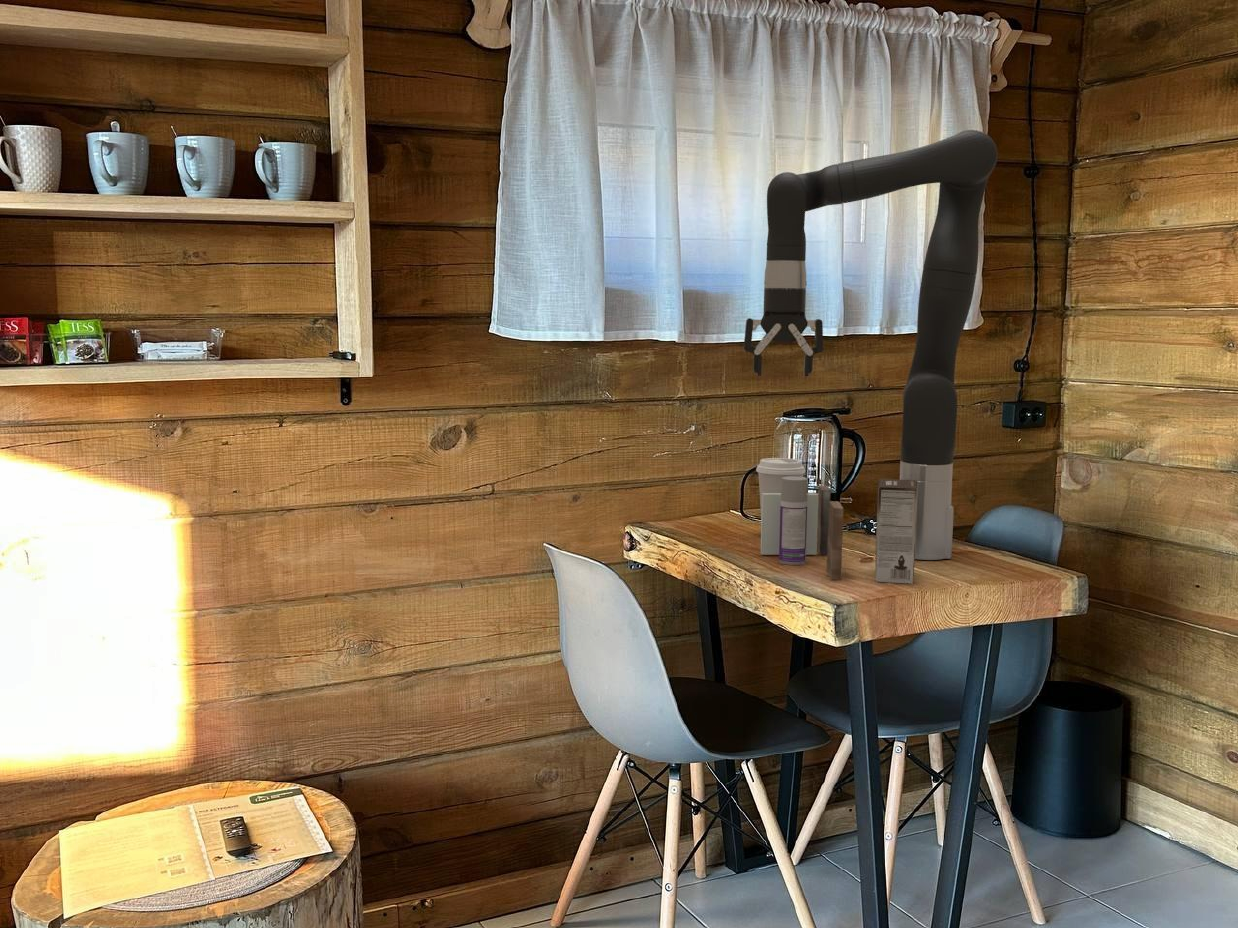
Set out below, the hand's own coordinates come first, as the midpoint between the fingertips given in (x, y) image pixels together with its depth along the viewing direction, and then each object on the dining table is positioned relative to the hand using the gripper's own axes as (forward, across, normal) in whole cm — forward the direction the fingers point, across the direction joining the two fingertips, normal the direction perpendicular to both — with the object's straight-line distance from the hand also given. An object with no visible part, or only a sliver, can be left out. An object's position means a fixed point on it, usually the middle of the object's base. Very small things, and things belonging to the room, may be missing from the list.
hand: (782, 376), depth 219 cm
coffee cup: (+32, -1, -11) cm, 34 cm away
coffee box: (+32, -18, +22) cm, 43 cm away
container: (+32, -2, +12) cm, 34 cm away
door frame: (+32, -8, +13) cm, 36 cm away
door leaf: (+32, -2, +7) cm, 33 cm away
